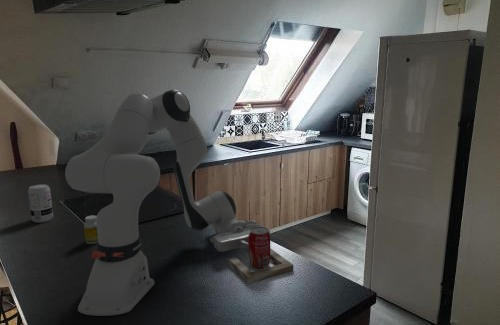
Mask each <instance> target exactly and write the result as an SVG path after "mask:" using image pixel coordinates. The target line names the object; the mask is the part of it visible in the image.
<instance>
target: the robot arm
mask: <svg viewBox="0 0 500 325" xmlns="http://www.w3.org/2000/svg"><path fill="white" fill-rule="evenodd" d="M163 130H167V132H168V133H169V137H170V139H171V142H172V144H173V146H174V149H175V152H176V161H175V163H173V171H174V172H173V173H174V176H175V181H176V184H177V189H178V192H179V196H180V201H181V204H182V207H183V208H182V210H183V214H184V219H185V222H186V224H187V226H188V227H189V229H191V230H194V231H199V232H202V231H203V230H204V229H205V228H207V227H209V226H210V228H211V229H212V230H213V231H214V233H215V235H213V236H211V237H210V238H209V242H210V243H212V244H213V246H214V248H215V249H216V251H218V252H220V253H223V252H224V253H225V252H228V251H232V250H236V249H239V248H242V249H247V250H248V238H249V233H250V232H251V231H250V230H251V229H252V228H254V227H264V228H267V227H266V226H264V225H262V224H260V223H257V221H256V220H253V219H251V220H243V219H237V218H235V217H236V216H237V207H236V203H235V200H234V199H233V198H232V195H230V194H229V192H226V191H224V190H221V189H220V190H217V191H215V192H212V193H211V194H208V195H207V196H205V197H203V198H202V199H200V200H197V201H195V200H194V199H195V198H194V194H193V191H192V186H191V184H190V183H191V182H190V178H191V175H192V173H193V171H194V170H195V169H196V168H197V167H198V166H199V165H200V164H201V163H202V162H203V161H204V159H205V157H206V156H207V153H208V146H207V142H206V140H205V138H204V135H203V133H202V131H201V129H200V127H199V124H197V122H196V120H195V119H194V117H193V116H192V115H191V105H190V101H189V99H188V98H187V95H185V94H184V93H183V92H182V91H181V90H178V89H171V90H167V91H165V92H164V93H161V94H159V95H157V96H155V97H152V98H149V96H147V95H145V94H142V93H132V94H129V95H128V96H127V97H126V98H125V99H124V100H123V102H122V103H121V104H120V106H119V108H118V109H117V110H116V113H115V115H114V117H113V120H112V122H111V123H110V125H109V127H108V130H107V132H106V133H105V134H104V136H103V137H102V138H101V139H100V140H99V141H98V142H96V144H94V145H93V146H91V147H90V148H89V149H88V150H85V151H84V152H82V153H80V154H77V155H75V156H72V157H71V159H70V160H69V161H68V163H67V164H66V166H65V167H66V168H65V172H64V175H65V180H66V182H67V184H68V186H69V187H70V188H72V189H73V190H77V191H80V192H85V193H89V194H90V193H91V194H111V195H112V196H113V200H112V202H111V203H109V204H108V205H106V206H104V207H103V208H102V209H100V210H99V211H98V212H97V215H96V216H97V217H96V226H97V236H98V241H97V243H96V246H95V250H93V251H92V253H91V258H92V259H94V263H93V265H92V268H91V272H90V274H89V277H88V281H87V282H86V290H85V291H84V293H83V295H82V298H81V301H80V302H79V305H78V307H77V312H79V313H81V314H83V315H87V316H97V317H102V316H104V317H106V316H107V317H109V316H117V315H123V314H126V313H130V311H132V310H133V309H134V307H136V306H137V304H138V303H139V302H140V301H141V300H142V298H143V297H145V295H146V294H147V293H148V292H149V291H150V290H151V289H152V288H153V286H155V280H154V279H153V278H151V277H150V273H149V266H148V265H149V264H148V258H147V256H146V255H145V254H144V253H143V252H142V240H141V236H140V234H139V210H140V207H141V205H142V202H143V201H144V199H145V198H146V197H147V196H148V195H149V194H150V193H152V192H153V191H154V190H155V189H156V188H157V187H158V184H159V182H160V179H161V169H160V166H159V164H158V162H157V161H156V160H155V158H154V157H151V156H146V155H143V154H139V153H141V152H142V151H143V149H144V148H145V146H146V143H147V141H148V140H147V139H148V138H149V135H154V134H156V133H158V132H160V131H163ZM267 229H268V228H267ZM268 232H269V234H270V235H271V231H270V229H268Z"/></svg>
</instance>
